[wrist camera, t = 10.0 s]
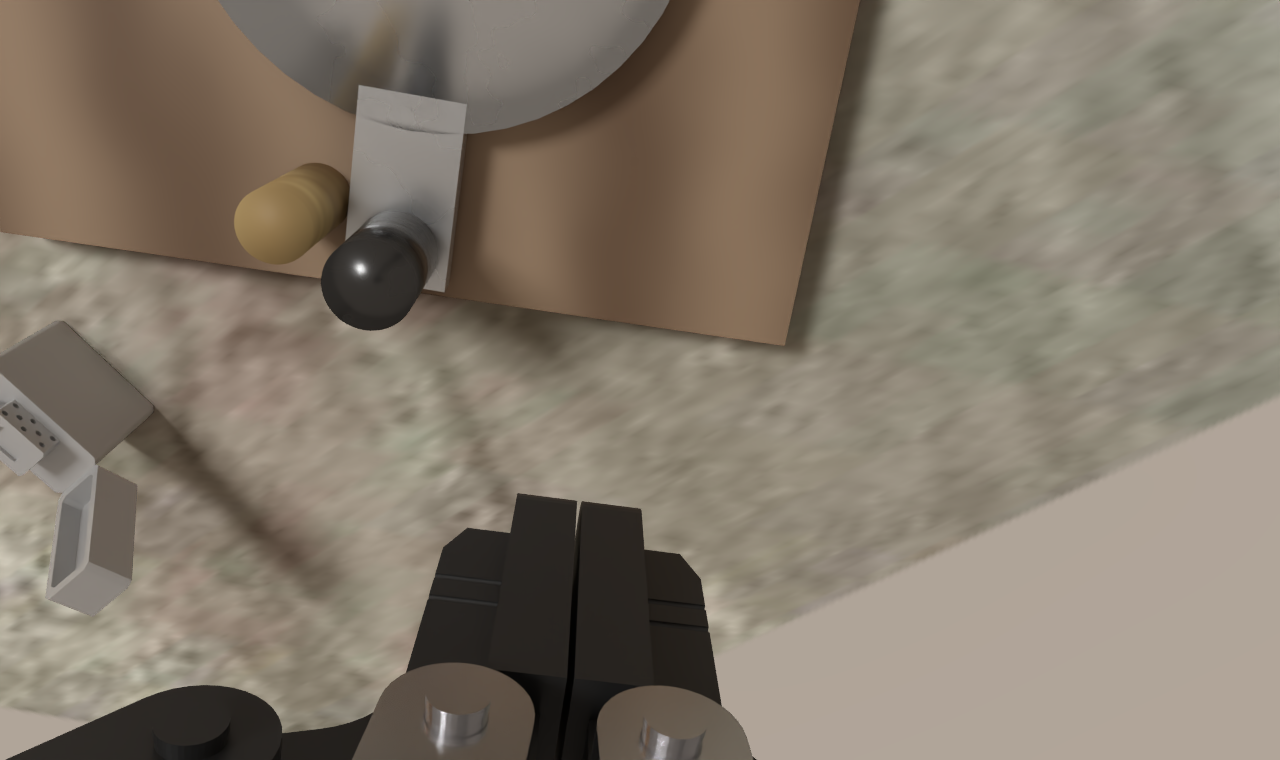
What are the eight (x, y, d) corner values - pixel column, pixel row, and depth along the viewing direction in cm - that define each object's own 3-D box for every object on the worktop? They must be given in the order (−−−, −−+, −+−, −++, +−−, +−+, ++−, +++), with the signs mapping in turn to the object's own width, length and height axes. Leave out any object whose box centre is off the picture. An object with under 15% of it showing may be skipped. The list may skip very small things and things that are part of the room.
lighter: (23, 350, 34) (-142, 448, 26) (59, 317, 34) (-97, 407, 26) (188, 500, 36) (79, 631, 28) (223, 471, 36) (122, 595, 28)
